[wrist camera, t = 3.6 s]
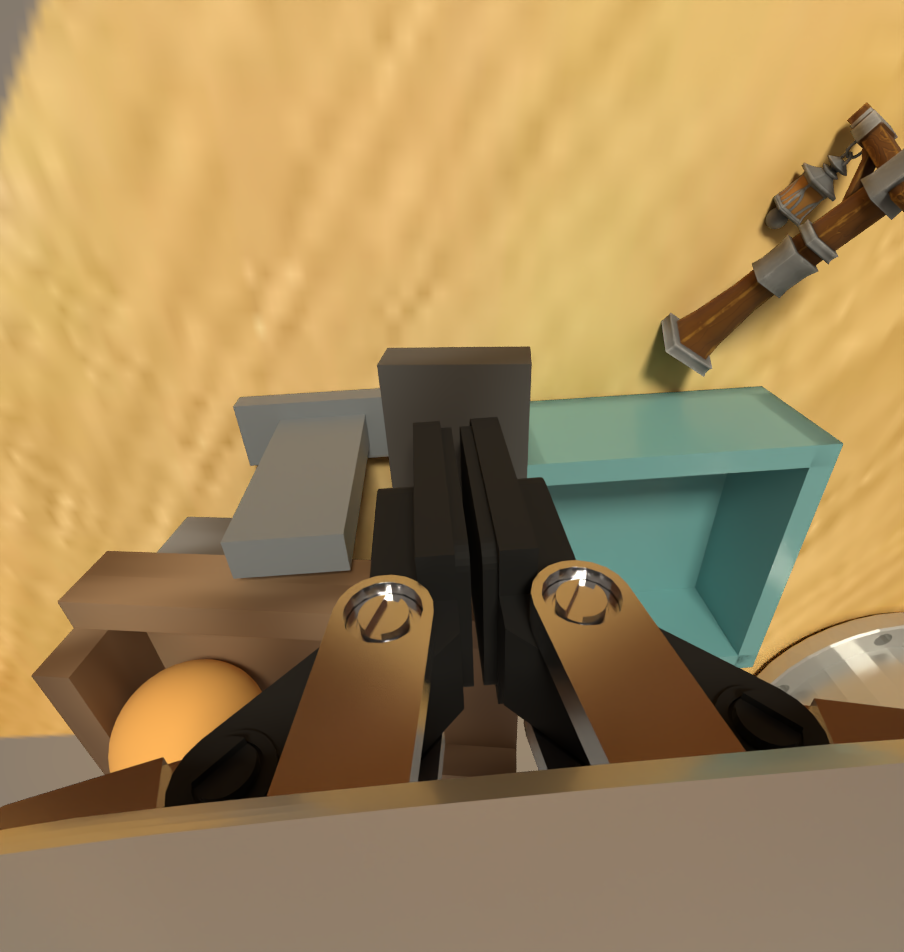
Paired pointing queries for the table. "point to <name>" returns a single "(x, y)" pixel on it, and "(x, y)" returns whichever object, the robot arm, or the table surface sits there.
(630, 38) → the table surface
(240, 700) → the ball
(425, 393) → the lever
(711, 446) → the teal open box
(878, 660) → the robot arm
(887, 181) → the wooden post with brackets
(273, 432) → the lever stand
